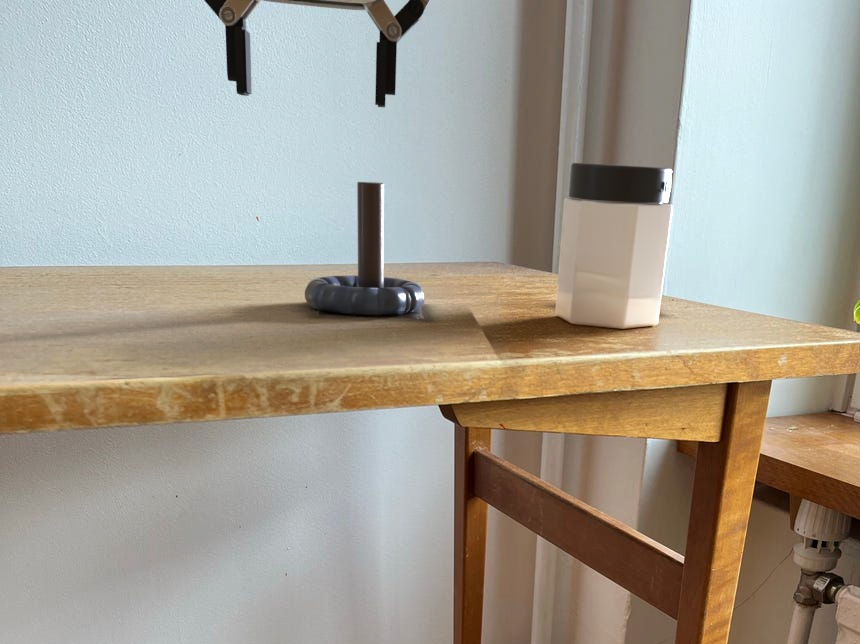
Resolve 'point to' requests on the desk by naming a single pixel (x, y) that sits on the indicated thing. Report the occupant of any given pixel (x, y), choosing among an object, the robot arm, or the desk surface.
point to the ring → (364, 296)
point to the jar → (614, 245)
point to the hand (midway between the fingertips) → (312, 100)
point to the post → (371, 243)
